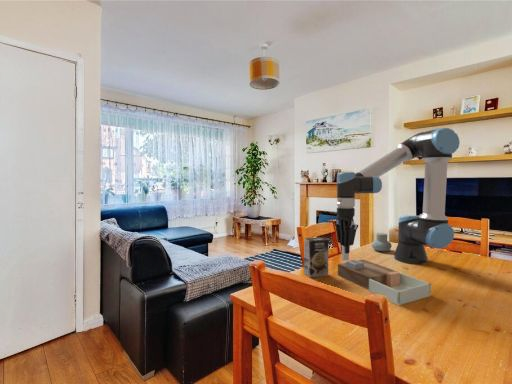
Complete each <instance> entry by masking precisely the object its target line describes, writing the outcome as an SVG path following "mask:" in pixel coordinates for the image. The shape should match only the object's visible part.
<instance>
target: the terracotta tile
mask: <svg viewBox="0 0 512 384" xmlns="http://www.w3.org/2000/svg"><path fill="white" fill-rule="evenodd" d="M396 271H397V270H394V272H389V273H387V276H386V286H389V287H394V286H398V285H400V273H401V272H399V271H397V272H396Z"/></svg>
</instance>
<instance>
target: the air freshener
mask: <svg viewBox="0 0 512 384" xmlns="http://www.w3.org/2000/svg"><path fill="white" fill-rule="evenodd" d="M375 236H376V238H375V240H373V241H372V243H371V248H372V249H373V250H375V251H377V252H382V253H387V252H389V251H391V249H392V243H391V242H390V241H388V233H385V232H377V233H375Z"/></svg>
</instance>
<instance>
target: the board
mask: <svg viewBox="0 0 512 384" xmlns="http://www.w3.org/2000/svg"><path fill="white" fill-rule="evenodd" d="M356 260H357V259H356ZM357 261H360V262H362V263H364V268H360V269H353V268H350V267H348V266H346V262H341V263H338V264H337V276H338V277H340V278H343V279H344V280H347V281H349V282H352V283H354V284H356V285H358V286H360V287H362V288H363V289H365V290H368V291H369V279H372V280H374V281H376V282H379V283H381V284H383V285H386V276H387V273H389V272H394V271H396V272H398V271H397V270H394V269H391V268H389V267H386V266H383V265H380V264H377V263H375V262H371V261H369V260H367V259H358V260H357Z"/></svg>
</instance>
